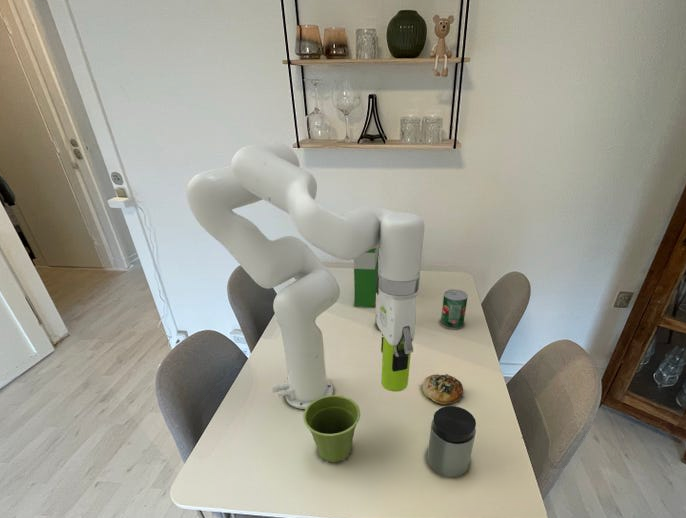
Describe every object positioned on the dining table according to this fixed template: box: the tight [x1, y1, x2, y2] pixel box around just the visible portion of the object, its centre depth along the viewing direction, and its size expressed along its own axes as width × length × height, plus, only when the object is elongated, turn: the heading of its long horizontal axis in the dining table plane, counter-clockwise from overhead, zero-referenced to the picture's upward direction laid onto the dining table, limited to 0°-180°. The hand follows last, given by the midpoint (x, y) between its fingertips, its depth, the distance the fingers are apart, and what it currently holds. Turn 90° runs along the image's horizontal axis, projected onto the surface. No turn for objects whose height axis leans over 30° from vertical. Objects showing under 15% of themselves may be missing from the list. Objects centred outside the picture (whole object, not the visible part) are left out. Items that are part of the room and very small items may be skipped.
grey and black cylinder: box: [426, 405, 477, 478], centre depth 80 cm, size 9×9×12 cm
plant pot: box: [302, 394, 361, 463], centre depth 83 cm, size 12×12×11 cm
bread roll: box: [421, 373, 464, 405], centre depth 101 cm, size 11×11×5 cm
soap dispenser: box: [380, 306, 412, 393], centre depth 79 cm, size 6×7×20 cm
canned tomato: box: [440, 289, 469, 330], centre depth 130 cm, size 8×8×11 cm
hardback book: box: [353, 247, 380, 308], centre depth 144 cm, size 18×7×24 cm, turn 174°
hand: (393, 359), depth 81 cm, fingers closed on soap dispenser, 5 cm apart
